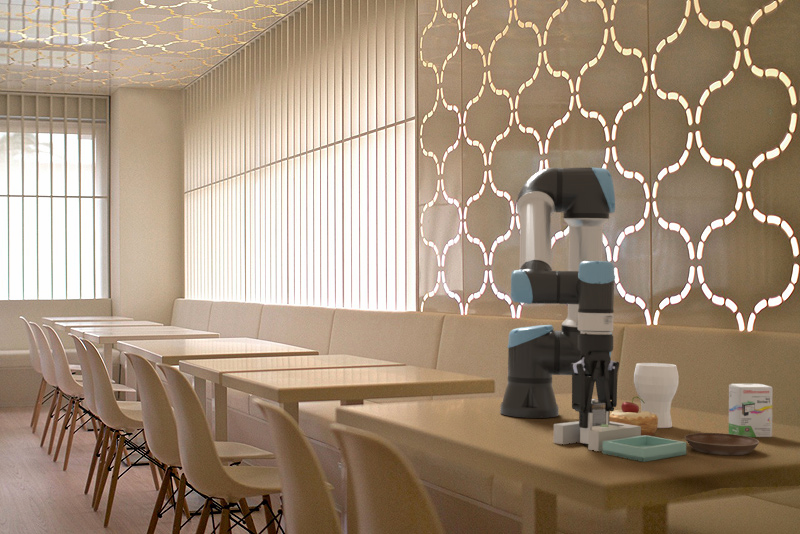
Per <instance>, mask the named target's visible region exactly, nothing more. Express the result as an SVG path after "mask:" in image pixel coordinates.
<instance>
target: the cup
mask: <svg viewBox="0 0 800 534" xmlns="http://www.w3.org/2000/svg"><path fill="white" fill-rule="evenodd" d="M679 377H680V375H679V371H678V368H677V365H676V364H672V363H663V362H661V363H660V362H638V363H636V364H635V369H634V373H633V385H634V387H635V391H636V394H637V395H638V396H637V397H640V398H641V399H642V400H643V401H644V402H645V403H644V402H643V401H642V400H640V399H639V400H640V408H641V411H648V412H650V413H651V414H653V413H654V414H656V415H657V417H658V426H657V429H666V428H667V429H668V428H672V427H673V423H672V415H671V406H672V401H673V399H674V397H675V395H676V393H677V391H678V387H679V381H680V379H679Z"/></svg>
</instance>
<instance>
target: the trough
mask: <svg viewBox="0 0 800 534" xmlns="http://www.w3.org/2000/svg"><path fill="white" fill-rule="evenodd" d="M601 453H603V454H602V455H607V454H608V456H612V455H614V456H613V457H617V456H619V457H618V458H622V457H624V458H623V459H627V458H628V460H632V461H637V460H638V462H642V463H644V462H651V461H657V460H663V459H668V458H674V457H680V456H685V455H687V441H681V440H678V439H670V438H663V437H658V436H654V435H653V436H647V435H643V436H636V437H629V438H622V439H615V440H608V441H603V450H602V451H601Z"/></svg>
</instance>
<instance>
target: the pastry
mask: <svg viewBox="0 0 800 534" xmlns="http://www.w3.org/2000/svg"><path fill="white" fill-rule="evenodd" d="M635 399H639V400H642V399H641V398H640V397H639V396H633V397H632V400H631V402H630V401H624V402H623V401H622V403H621V406H620V407H621V409H614V411H610V412H609V421H611V422H617V423H623V424H629V425H635V426H641V436H643V435H647V436H653V437H654V435H655V433H656V431H657V429H658V428H657V426H658V417H657V415H656V414H654V413H653V414H651V413H650V412H648V411H642V410H640V407H639V405H638V404H637V403H634V400H635ZM642 401H643V400H642ZM643 402H644V401H643ZM644 403H645V402H644Z"/></svg>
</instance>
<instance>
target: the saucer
mask: <svg viewBox="0 0 800 534" xmlns="http://www.w3.org/2000/svg"><path fill="white" fill-rule="evenodd" d="M684 439H685V440H686V441H685V442H686V443H687V444H689V446H690V447H691V448H692V449H693V450H695V451H697V452H700V453H704V454H710V455H711V454H712V455H719V456H743V455H747V454H749V453H751V452H752V451H754V450H755V449H756V447H758V445H760V441H759V440H758V439H756V438H755V437H747V436H741V435H734V434H729V433H720V432H698V433H697V432H696V433H695V432H694V433H689V434H686V435H684Z"/></svg>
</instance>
